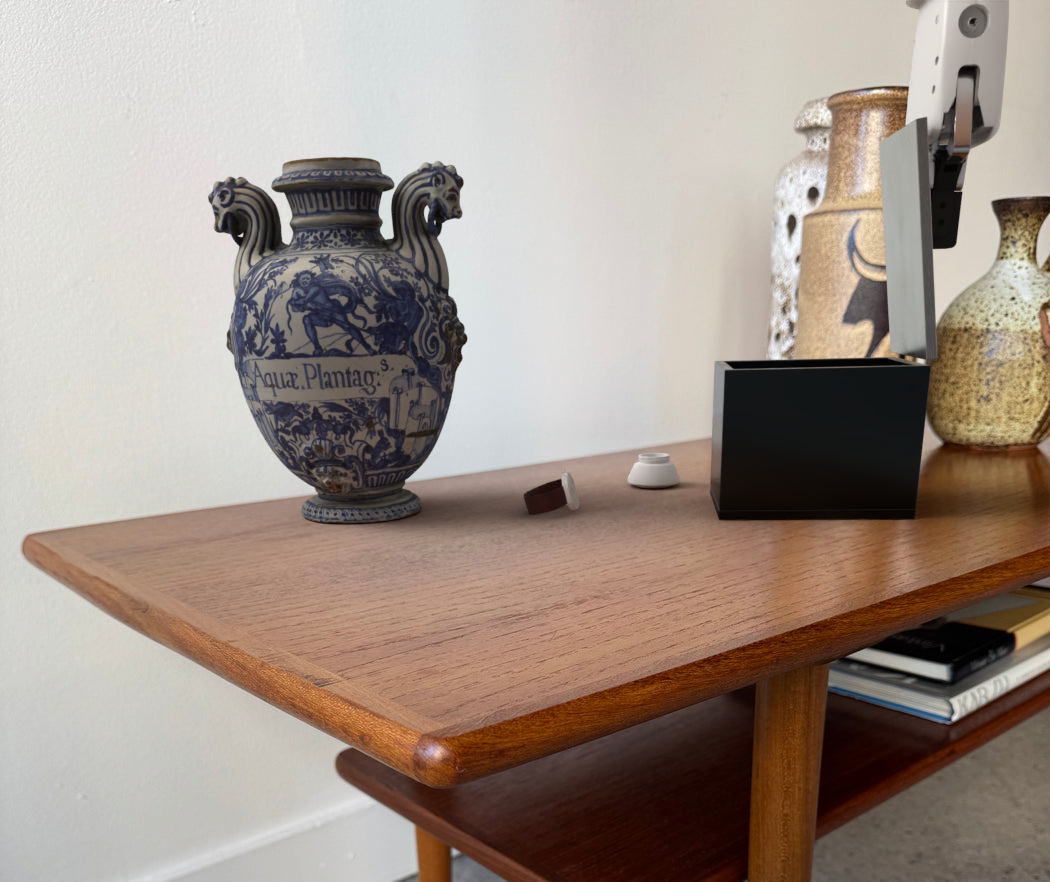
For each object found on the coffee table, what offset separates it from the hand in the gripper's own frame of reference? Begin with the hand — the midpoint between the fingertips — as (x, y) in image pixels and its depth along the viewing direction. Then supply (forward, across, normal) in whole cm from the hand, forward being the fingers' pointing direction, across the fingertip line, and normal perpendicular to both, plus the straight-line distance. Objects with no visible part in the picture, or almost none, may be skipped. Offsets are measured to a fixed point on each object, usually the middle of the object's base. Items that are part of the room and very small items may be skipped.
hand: (932, 248), depth 82 cm
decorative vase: (+21, -2, +47) cm, 52 cm away
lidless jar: (+21, +11, +21) cm, 32 cm away
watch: (+21, -2, +30) cm, 37 cm away
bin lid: (0, 0, +2) cm, 2 cm away
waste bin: (+20, 0, +8) cm, 22 cm away
